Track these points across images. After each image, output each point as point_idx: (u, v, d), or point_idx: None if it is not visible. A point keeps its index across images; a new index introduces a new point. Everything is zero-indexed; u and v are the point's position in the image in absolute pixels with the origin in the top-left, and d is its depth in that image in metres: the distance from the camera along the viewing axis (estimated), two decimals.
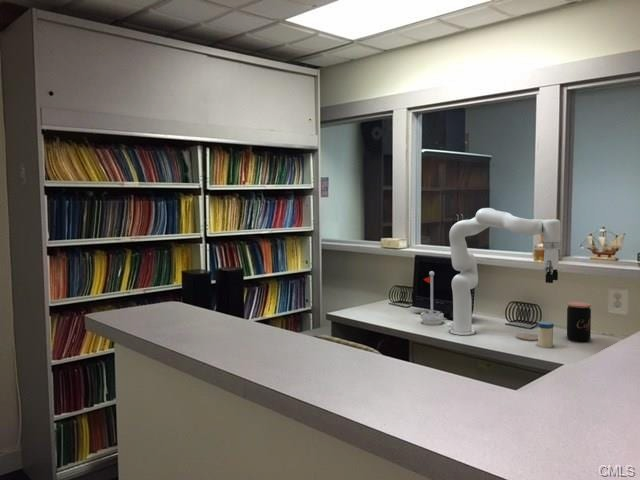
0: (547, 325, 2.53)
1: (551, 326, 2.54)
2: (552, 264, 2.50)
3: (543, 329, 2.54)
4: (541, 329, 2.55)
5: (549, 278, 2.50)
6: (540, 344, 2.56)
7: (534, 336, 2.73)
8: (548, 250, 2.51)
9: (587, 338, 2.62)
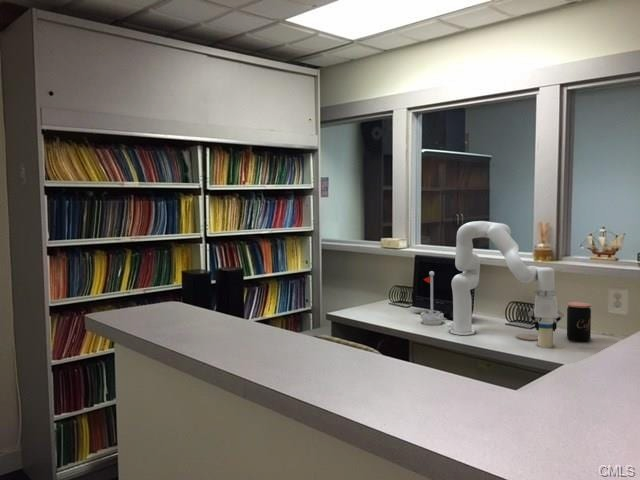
0: (547, 325, 2.53)
1: (551, 326, 2.54)
2: None
3: (543, 329, 2.54)
4: (541, 329, 2.55)
5: None
6: (540, 344, 2.56)
7: (534, 336, 2.73)
8: None
9: (587, 338, 2.62)
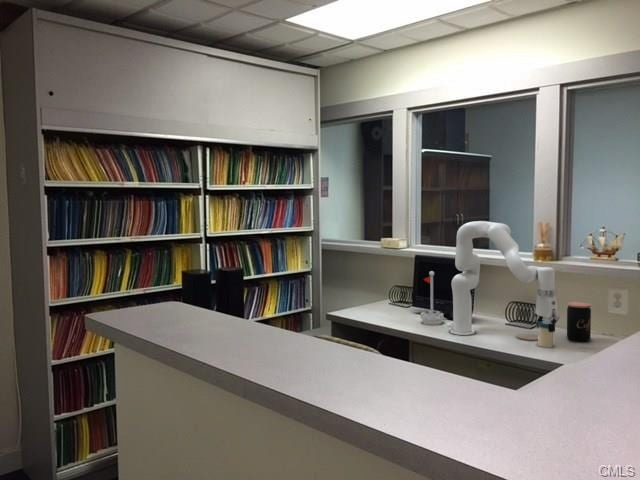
0: None
1: None
2: None
3: (543, 329, 2.54)
4: (541, 329, 2.55)
5: None
6: (540, 344, 2.56)
7: (534, 336, 2.73)
8: None
9: (587, 338, 2.62)
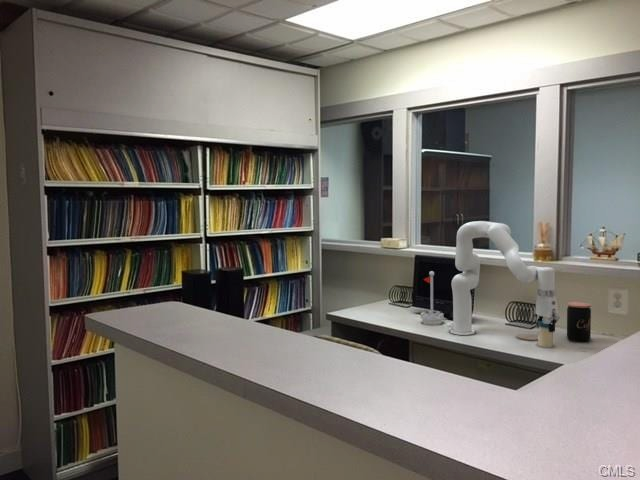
0: (538, 322, 2.58)
1: (539, 324, 2.56)
2: None
3: (544, 329, 2.54)
4: (542, 329, 2.55)
5: None
6: (540, 344, 2.56)
7: (534, 336, 2.73)
8: None
9: (587, 338, 2.62)
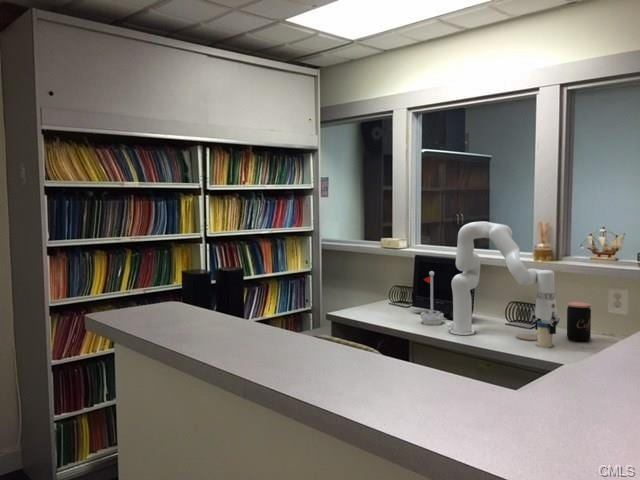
0: (537, 322, 2.58)
1: (538, 324, 2.56)
2: None
3: (543, 329, 2.54)
4: (541, 329, 2.55)
5: None
6: (540, 344, 2.56)
7: (534, 336, 2.73)
8: None
9: (587, 338, 2.62)
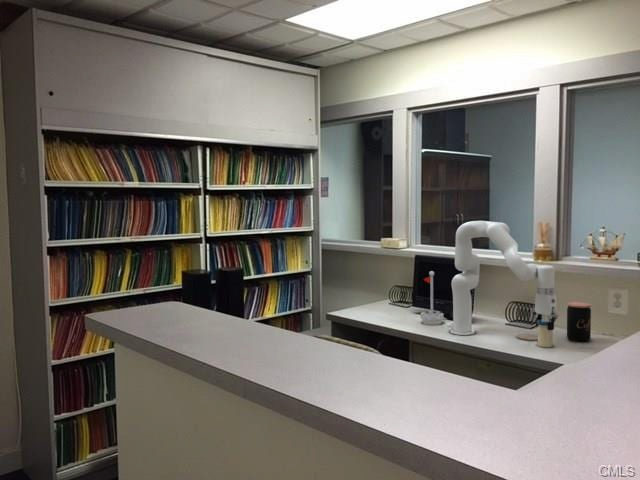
0: None
1: None
2: None
3: (543, 329, 2.54)
4: (541, 329, 2.55)
5: None
6: (541, 344, 2.56)
7: (534, 336, 2.73)
8: None
9: (587, 338, 2.62)
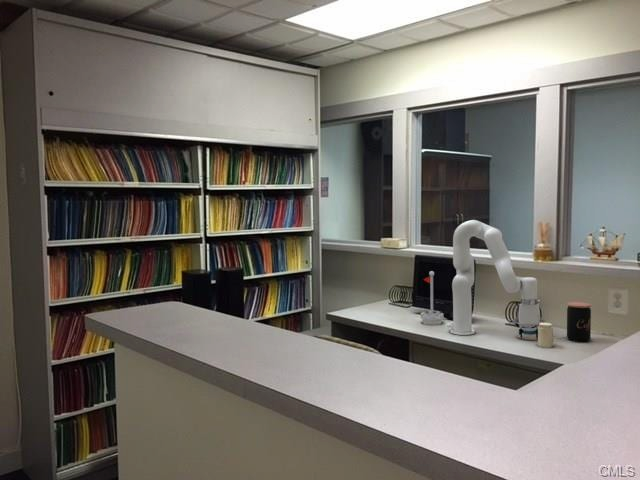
0: None
1: None
2: (518, 318, 2.72)
3: (544, 329, 2.54)
4: (542, 329, 2.55)
5: (519, 332, 2.73)
6: (541, 344, 2.56)
7: (534, 336, 2.73)
8: None
9: (587, 338, 2.62)
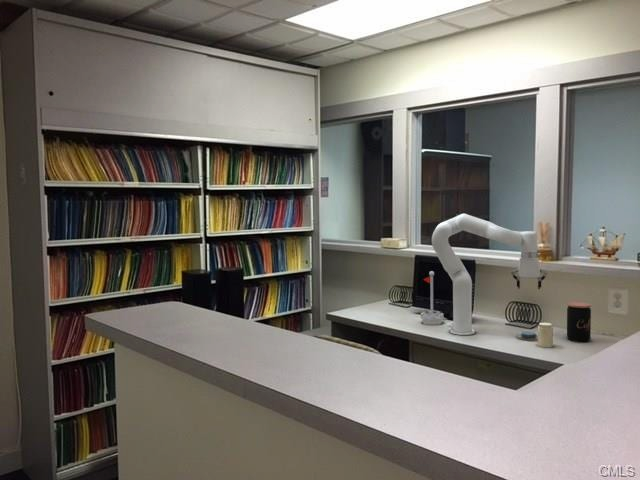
0: (535, 334, 2.71)
1: None
2: (518, 271, 2.76)
3: (544, 329, 2.54)
4: (542, 329, 2.55)
5: None
6: (541, 344, 2.56)
7: None
8: None
9: (587, 338, 2.62)
